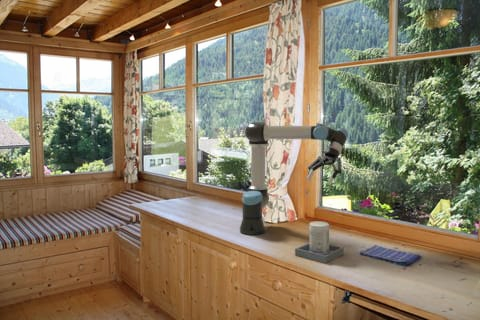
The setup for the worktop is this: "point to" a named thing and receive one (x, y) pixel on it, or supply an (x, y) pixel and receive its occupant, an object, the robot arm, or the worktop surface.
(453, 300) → the worktop surface
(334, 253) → the tray
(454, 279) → the worktop surface
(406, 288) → the worktop surface
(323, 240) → the supplement tub
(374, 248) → the dish towel
